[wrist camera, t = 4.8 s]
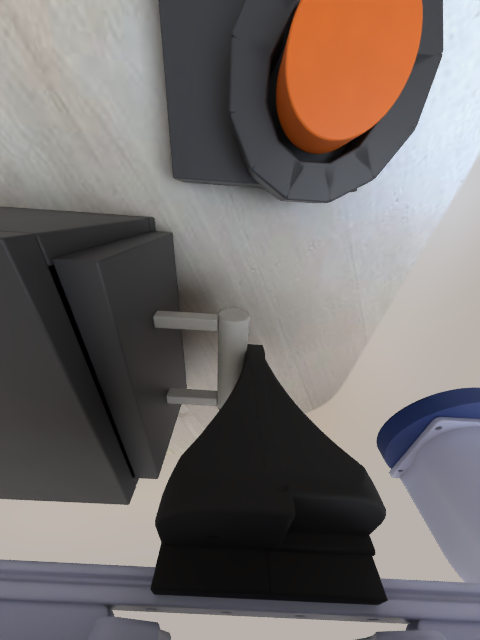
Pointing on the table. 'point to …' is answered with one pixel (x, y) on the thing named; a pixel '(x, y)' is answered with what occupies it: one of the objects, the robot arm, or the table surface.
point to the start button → (344, 68)
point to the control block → (267, 102)
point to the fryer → (53, 366)
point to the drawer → (143, 339)
